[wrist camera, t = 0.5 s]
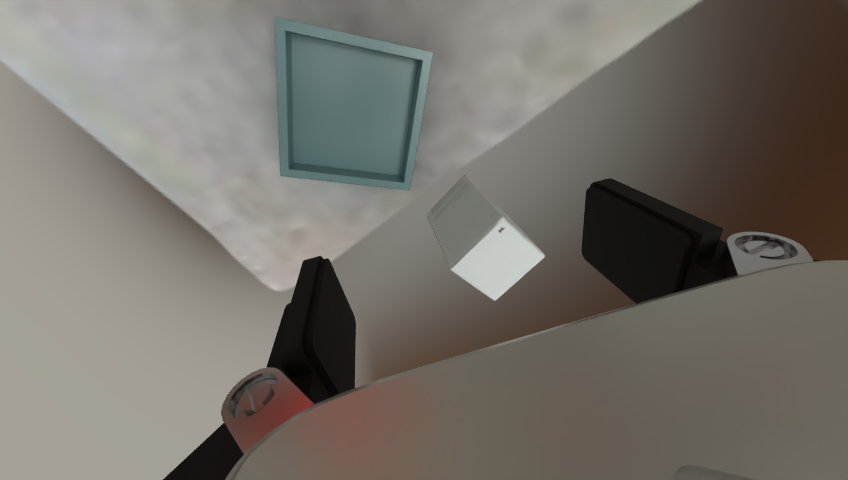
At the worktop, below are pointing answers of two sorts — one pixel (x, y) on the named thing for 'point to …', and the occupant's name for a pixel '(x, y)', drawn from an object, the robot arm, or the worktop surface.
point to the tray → (348, 106)
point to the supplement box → (481, 240)
